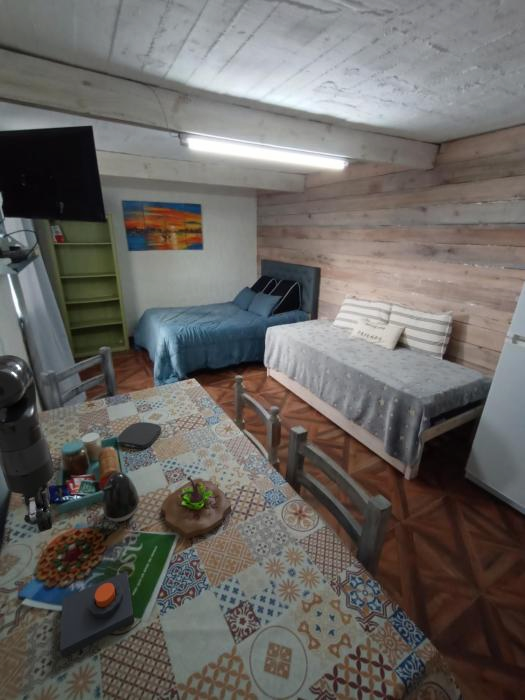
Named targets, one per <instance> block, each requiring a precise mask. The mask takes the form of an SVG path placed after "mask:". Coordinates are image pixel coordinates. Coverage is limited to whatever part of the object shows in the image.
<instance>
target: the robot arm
mask: <svg viewBox="0 0 525 700" xmlns="http://www.w3.org/2000/svg"><path fill="white" fill-rule="evenodd" d="M36 387H37V386H36V379H35V376H34V371H33V370H32V367H31V365H30V364H29V363H28V362H27V361H26V360H25V359H23V358H22V357H19V356H17V355H12V354H4V355H0V469H1V473H2V475H3V478H4V481H5V484H6V488H7V489H8V491H9V492H11V493H13V494H20V495H21V496H20V497H21V502H22V504H23V505H24V506H25V509H26V511H27V513H26V514H25V515H24V517H23V520H24V522H25V523H27V524H29V525H31V526H35V525H37V528H38V531H39V533H43V532H46V531H49V530H51V529H52V528H53V518H52V514H51V511H50V510H51V505H50V501H51V494H50V493H51V492H50V489H49V484H50V483H49V482H50V481H51V480H52V479H53V477H54V475H55V472H56V471H55V465H54V461H53V458H52V453H51V449H50V447H49V443H48V440H47V438H46V436H45V433H44V429H43V425H42V421H41V417H40V415H39V412H38V403H37V388H36Z"/></svg>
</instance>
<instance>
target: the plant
mask: <svg viewBox="0 0 525 700" xmlns="http://www.w3.org/2000/svg"><path fill="white" fill-rule="evenodd" d="M186 480H187V481H188V482H187V483H185V484H183V485H181V486H180V487H179V488H177V489H175V490H174V491H173V492H172V493H170V494H168V495H167V497H166V498H165V499H164V501H163V502H162V506H161V507H160V514H161V515H162V516H164V523H165V525H166V527H168V528H170V529H171V530H173V531H174V532H176V533H177V534H179V535H180V536H182V537H183V538H185V539H187V540H190V539H192V538H194V537H198V536H204V535H206V534H208V533H211V532H212V531H213V530H214V529H216V528H217V527H219V526H220V525H221V524H222V523H223V520H224V518H225V517H226V516H227V515H228V514H229V513H230V512H231V511H232V505H231V502H230V500H229V499H228V497H227V496H226V494H225V492H224V491H223V490H222V489H220V488H219V484H216V483H214V482H213V481H212V480H211V479H210V480H203V478H194V479H192V477H191V476H189V475H188V476H187V477H186Z"/></svg>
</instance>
